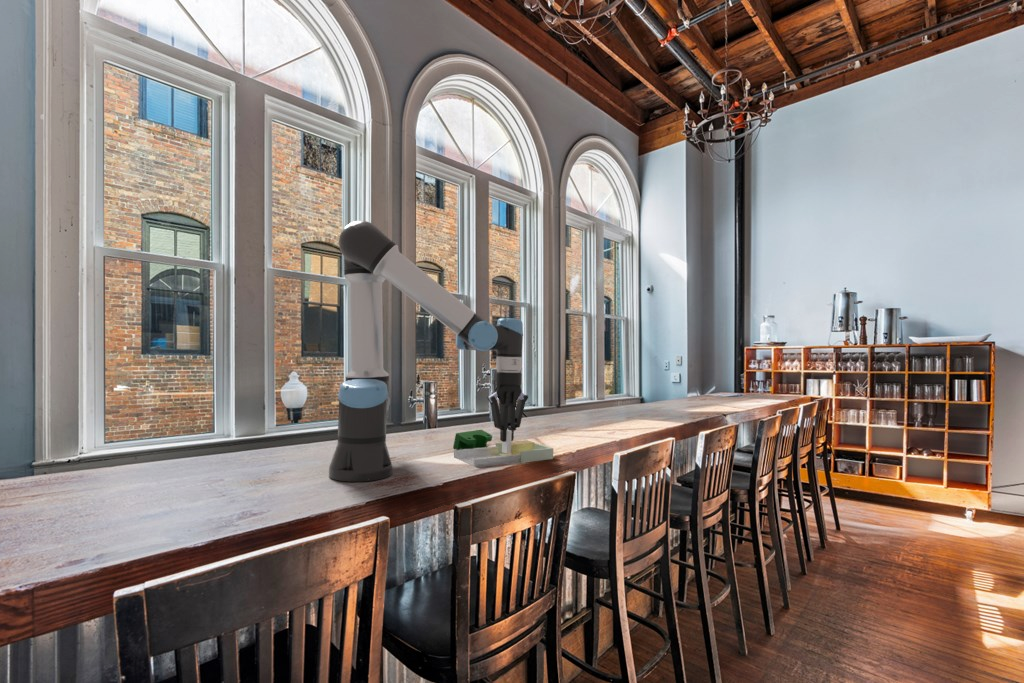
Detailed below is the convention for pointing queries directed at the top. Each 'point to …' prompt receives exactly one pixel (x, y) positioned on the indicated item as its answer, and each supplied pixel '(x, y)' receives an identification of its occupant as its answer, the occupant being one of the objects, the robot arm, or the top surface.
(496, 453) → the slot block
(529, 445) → the pale yellow cube
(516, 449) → the chip
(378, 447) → the robot arm
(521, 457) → the tray
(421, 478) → the top surface
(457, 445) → the clamp
